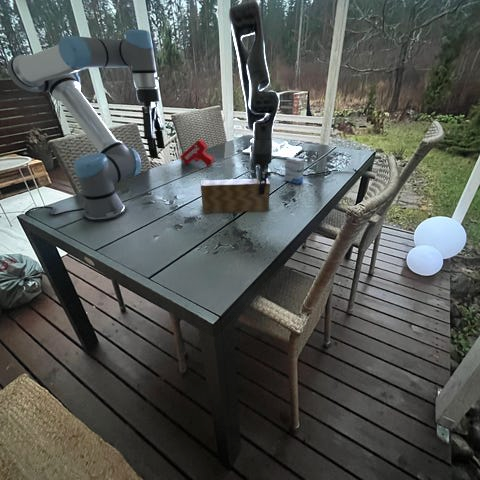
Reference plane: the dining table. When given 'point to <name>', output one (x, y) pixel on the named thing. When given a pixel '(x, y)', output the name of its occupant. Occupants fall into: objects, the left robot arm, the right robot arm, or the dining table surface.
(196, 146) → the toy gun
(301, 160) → the ink box
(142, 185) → the dining table surface
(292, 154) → the relief map
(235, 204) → the box
